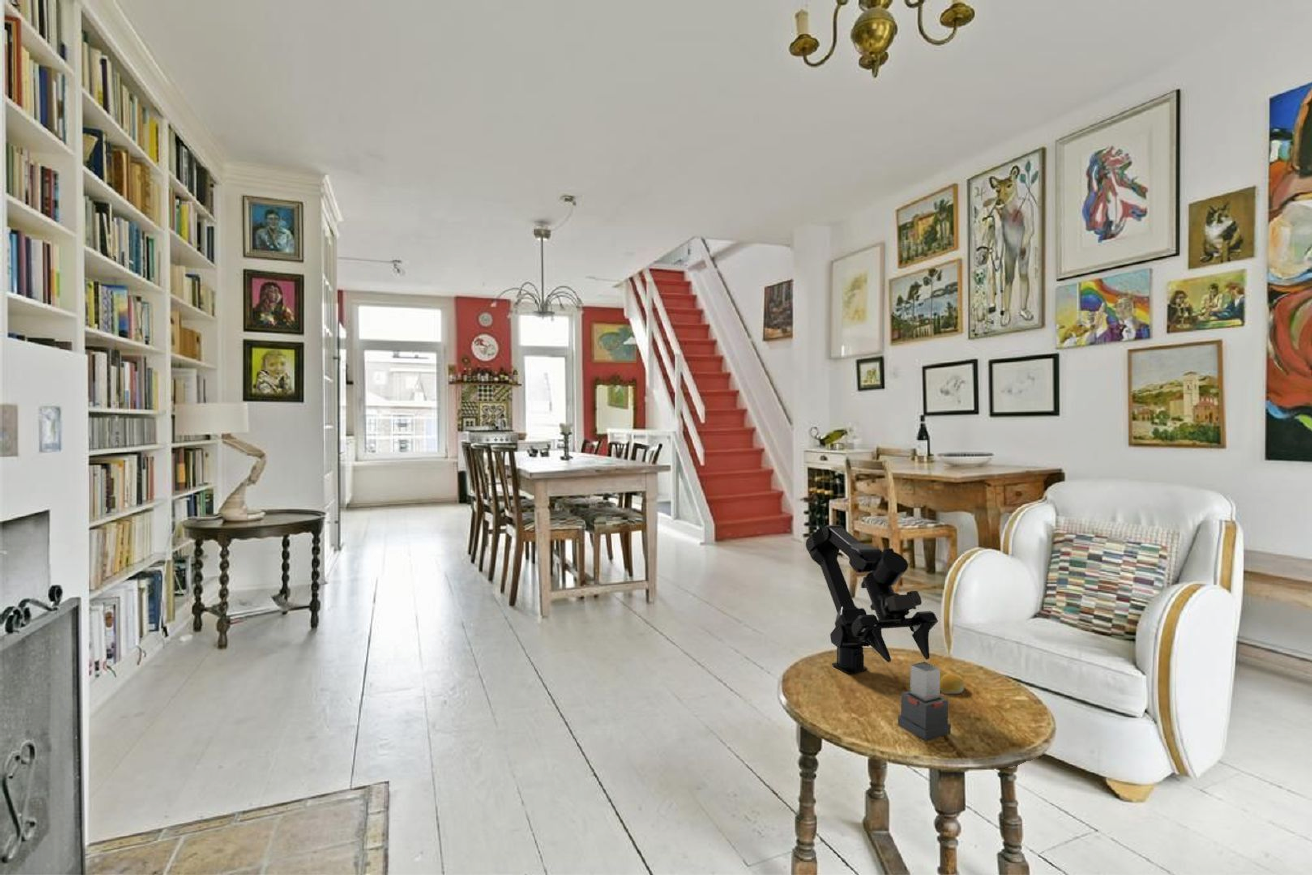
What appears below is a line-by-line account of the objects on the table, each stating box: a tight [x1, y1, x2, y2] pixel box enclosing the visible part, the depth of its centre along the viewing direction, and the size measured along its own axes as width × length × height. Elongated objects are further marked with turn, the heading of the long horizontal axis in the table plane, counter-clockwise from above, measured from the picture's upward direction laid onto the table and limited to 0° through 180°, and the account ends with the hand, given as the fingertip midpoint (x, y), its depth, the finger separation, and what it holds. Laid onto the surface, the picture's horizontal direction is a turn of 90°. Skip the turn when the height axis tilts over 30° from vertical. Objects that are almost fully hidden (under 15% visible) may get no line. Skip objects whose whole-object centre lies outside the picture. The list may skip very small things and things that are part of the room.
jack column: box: [909, 661, 941, 703], centre depth 132 cm, size 4×4×11 cm
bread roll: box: [940, 668, 965, 695], centre depth 153 cm, size 8×9×4 cm
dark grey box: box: [897, 690, 952, 742], centre depth 132 cm, size 7×7×7 cm
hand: (908, 660), depth 138 cm, fingers open, 9 cm apart
